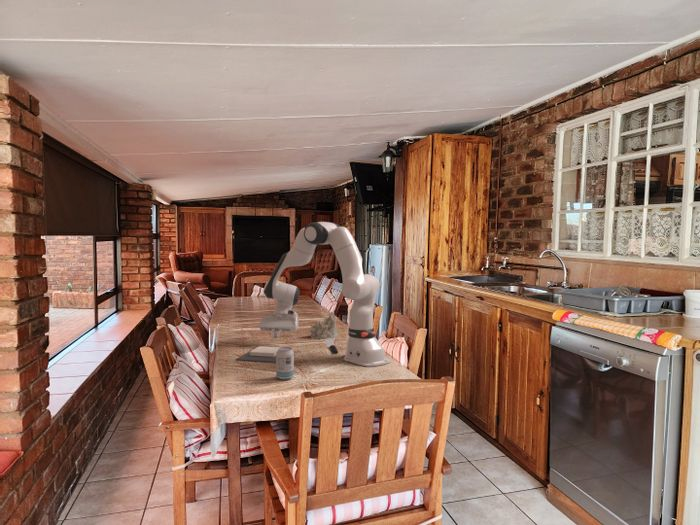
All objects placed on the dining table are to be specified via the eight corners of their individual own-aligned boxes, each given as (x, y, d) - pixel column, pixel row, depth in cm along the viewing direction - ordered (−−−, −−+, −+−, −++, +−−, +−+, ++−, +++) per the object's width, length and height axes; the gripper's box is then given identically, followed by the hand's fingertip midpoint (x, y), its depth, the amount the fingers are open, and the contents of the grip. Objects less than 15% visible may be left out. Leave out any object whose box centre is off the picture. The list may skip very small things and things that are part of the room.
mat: (250, 351, 218) (250, 350, 218) (289, 353, 214) (289, 352, 214) (236, 360, 202) (235, 359, 202) (277, 363, 198) (277, 361, 198)
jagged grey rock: (339, 333, 260) (338, 308, 259) (336, 340, 244) (334, 314, 242) (313, 334, 262) (311, 309, 260) (308, 341, 245) (306, 315, 244)
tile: (258, 346, 218) (249, 351, 207) (282, 347, 216) (273, 353, 205) (259, 350, 218) (249, 356, 207) (282, 351, 216) (274, 357, 205)
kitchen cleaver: (317, 338, 244) (334, 336, 245) (317, 341, 244) (335, 339, 245) (320, 353, 213) (340, 350, 214) (320, 357, 213) (341, 354, 214)
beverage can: (294, 375, 181) (294, 346, 180) (292, 381, 174) (292, 350, 173) (277, 375, 180) (277, 346, 180) (275, 381, 174) (275, 351, 173)
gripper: (261, 310, 232) (254, 333, 223) (298, 311, 228) (292, 334, 219) (264, 317, 236) (257, 339, 227) (301, 318, 232) (295, 341, 223)
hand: (275, 337), depth 223 cm, fingers closed
